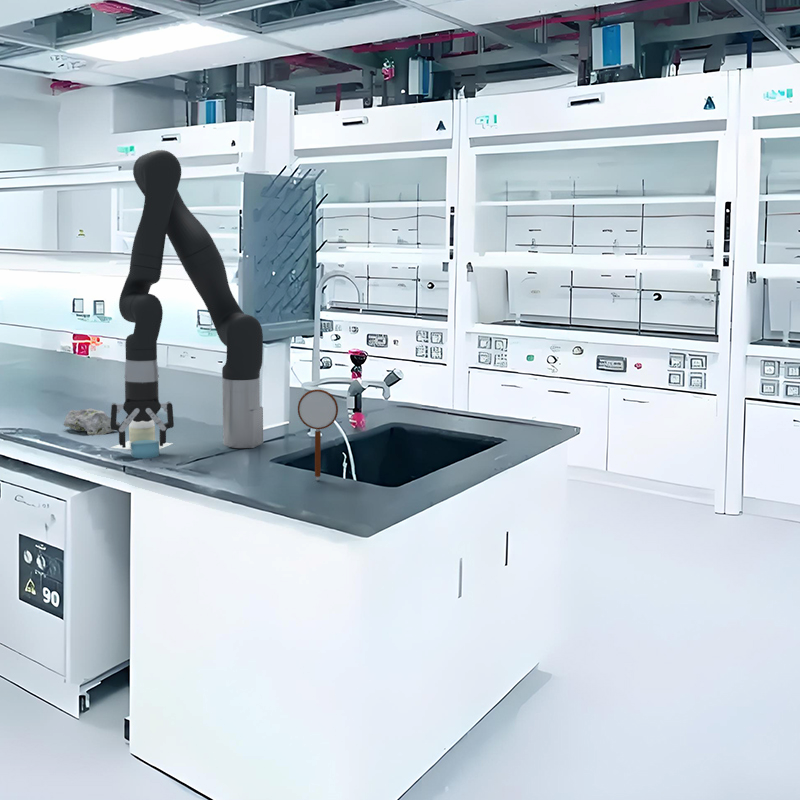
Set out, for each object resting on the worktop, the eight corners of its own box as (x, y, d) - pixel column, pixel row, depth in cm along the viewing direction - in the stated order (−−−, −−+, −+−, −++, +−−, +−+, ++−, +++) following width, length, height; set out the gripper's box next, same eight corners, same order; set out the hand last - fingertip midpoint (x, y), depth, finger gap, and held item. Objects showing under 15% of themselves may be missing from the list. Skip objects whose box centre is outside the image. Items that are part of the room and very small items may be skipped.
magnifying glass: (297, 481, 185) (297, 389, 182) (298, 479, 187) (298, 388, 184) (337, 482, 185) (337, 390, 182) (338, 480, 187) (338, 389, 183)
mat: (173, 444, 217) (173, 443, 217) (153, 453, 208) (153, 451, 208) (131, 441, 220) (131, 439, 220) (110, 449, 211) (110, 447, 211)
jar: (160, 445, 214) (159, 417, 213) (147, 450, 208) (146, 422, 207) (138, 443, 216) (137, 416, 215) (124, 448, 210) (123, 420, 209)
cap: (164, 455, 206) (164, 441, 206) (150, 461, 200) (149, 446, 200) (140, 453, 208) (140, 439, 207) (126, 459, 202) (125, 444, 201)
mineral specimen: (54, 433, 228) (52, 408, 227) (73, 428, 235) (72, 404, 234) (102, 438, 223) (101, 413, 222) (120, 433, 230) (119, 408, 228)
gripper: (171, 376, 207) (172, 441, 210) (109, 376, 202) (110, 444, 205) (174, 380, 200) (174, 448, 203) (109, 381, 195) (111, 451, 198)
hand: (142, 446), depth 204 cm, fingers open, 8 cm apart
